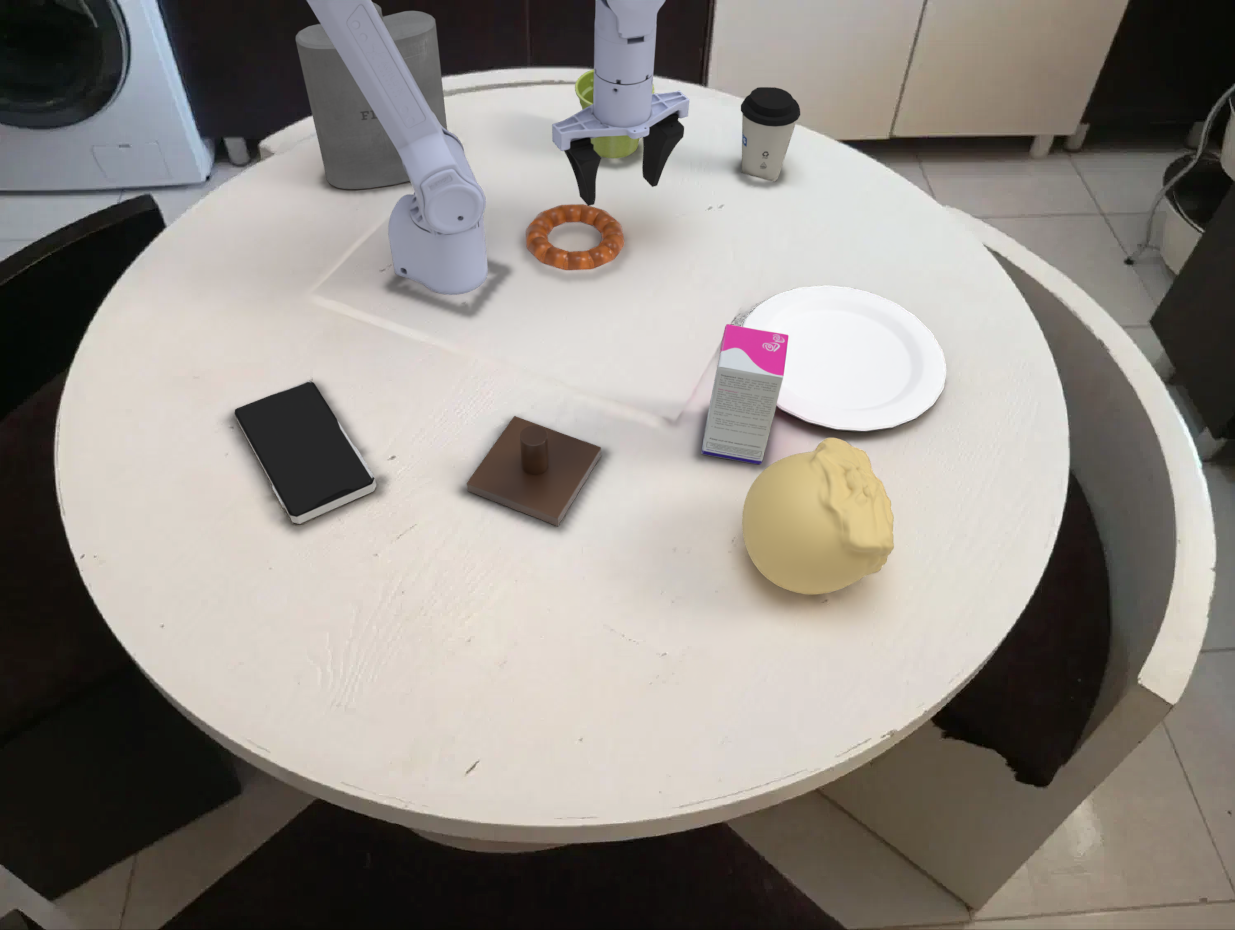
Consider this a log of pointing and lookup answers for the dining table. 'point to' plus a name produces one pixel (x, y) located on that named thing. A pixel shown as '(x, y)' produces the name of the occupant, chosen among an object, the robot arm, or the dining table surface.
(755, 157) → the coffee cup
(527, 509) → the stand
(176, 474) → the dining table surface
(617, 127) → the robot arm
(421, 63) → the flask
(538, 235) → the ring
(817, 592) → the sculpture
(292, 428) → the smartphone
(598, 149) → the plant pot
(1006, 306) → the dining table surface
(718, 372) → the supplement box
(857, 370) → the plate
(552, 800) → the dining table surface
